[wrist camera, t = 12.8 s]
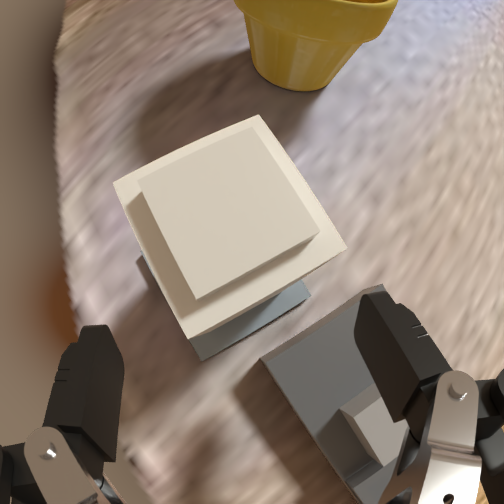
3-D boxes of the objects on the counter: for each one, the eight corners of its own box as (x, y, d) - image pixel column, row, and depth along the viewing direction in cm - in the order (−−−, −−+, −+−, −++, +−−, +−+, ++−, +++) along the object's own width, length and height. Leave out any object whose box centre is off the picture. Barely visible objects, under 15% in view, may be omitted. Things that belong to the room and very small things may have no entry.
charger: (241, 222, 18) (261, 101, 8) (281, 291, 18) (356, 242, 7) (170, 259, 18) (105, 172, 7) (209, 332, 17) (184, 340, 7)
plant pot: (293, 16, 24) (312, -66, 15) (377, 80, 23) (425, -3, 13) (202, 54, 22) (199, -48, 13) (293, 133, 21) (331, 22, 11)
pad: (245, 196, 19) (246, 192, 19) (308, 296, 18) (311, 295, 18) (142, 253, 18) (140, 251, 18) (202, 360, 17) (201, 361, 16)
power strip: (363, 289, 19) (400, 278, 14) (469, 502, 15) (501, 519, 11) (259, 358, 17) (270, 368, 13) (400, 558, 14) (424, 584, 10)
